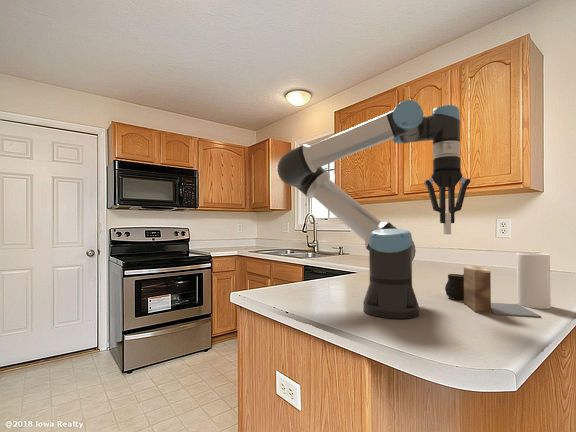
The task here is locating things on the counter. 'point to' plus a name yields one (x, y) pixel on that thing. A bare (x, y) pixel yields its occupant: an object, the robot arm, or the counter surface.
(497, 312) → the mat
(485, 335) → the counter surface
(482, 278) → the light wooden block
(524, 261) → the cup
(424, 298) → the counter surface
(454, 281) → the mate gourd
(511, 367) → the counter surface
